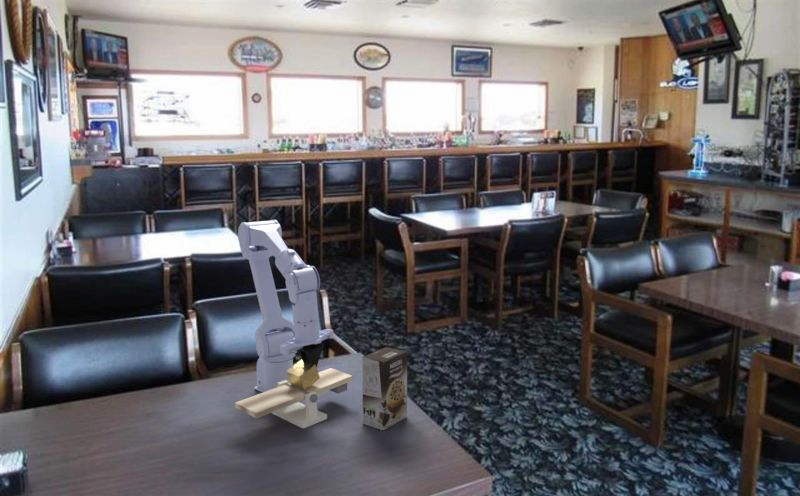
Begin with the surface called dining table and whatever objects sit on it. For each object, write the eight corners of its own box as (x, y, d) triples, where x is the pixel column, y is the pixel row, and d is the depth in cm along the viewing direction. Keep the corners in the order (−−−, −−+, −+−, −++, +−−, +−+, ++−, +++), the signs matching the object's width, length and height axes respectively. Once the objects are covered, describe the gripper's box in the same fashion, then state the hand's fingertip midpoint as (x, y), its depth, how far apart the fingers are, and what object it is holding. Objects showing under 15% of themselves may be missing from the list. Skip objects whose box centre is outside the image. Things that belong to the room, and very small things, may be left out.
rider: (290, 384, 153) (285, 371, 152) (306, 372, 157) (301, 359, 155) (304, 390, 150) (299, 376, 148) (320, 378, 153) (315, 364, 152)
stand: (268, 411, 155) (267, 384, 153) (292, 402, 160) (291, 376, 158) (303, 428, 146) (302, 399, 145) (327, 418, 151) (326, 390, 150)
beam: (235, 417, 145) (234, 401, 144) (330, 381, 165) (330, 366, 164) (257, 429, 139) (256, 412, 139) (353, 390, 160) (353, 375, 159)
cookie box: (383, 431, 145) (383, 362, 142) (361, 423, 148) (360, 356, 145) (408, 417, 152) (408, 351, 149) (386, 410, 156) (386, 345, 153)
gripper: (292, 330, 143) (297, 389, 146) (340, 314, 153) (344, 368, 156) (272, 325, 148) (277, 381, 150) (320, 309, 158) (325, 362, 161)
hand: (310, 374), depth 153 cm, fingers closed, pressing on rider
